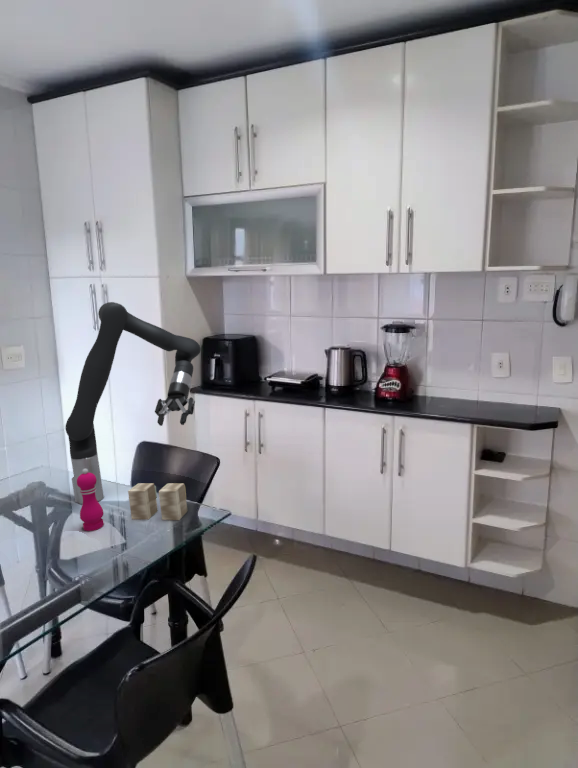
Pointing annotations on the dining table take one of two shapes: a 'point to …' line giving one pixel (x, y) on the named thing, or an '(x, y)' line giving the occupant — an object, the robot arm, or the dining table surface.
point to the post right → (173, 501)
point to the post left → (142, 501)
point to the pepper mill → (89, 502)
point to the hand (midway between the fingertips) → (170, 424)
